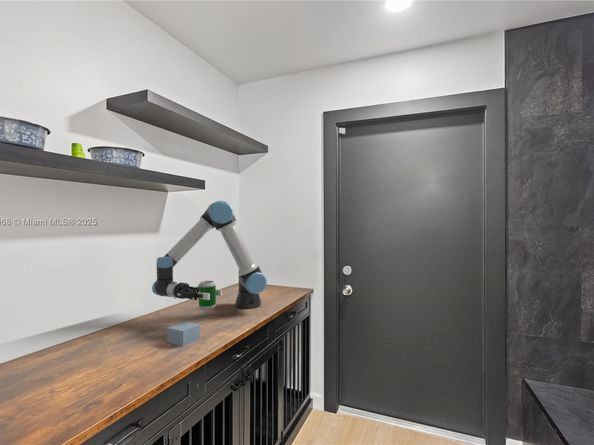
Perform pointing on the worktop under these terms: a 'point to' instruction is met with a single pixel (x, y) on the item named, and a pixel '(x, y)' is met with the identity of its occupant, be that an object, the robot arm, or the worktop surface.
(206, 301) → the soda can
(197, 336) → the base block
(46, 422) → the worktop surface
